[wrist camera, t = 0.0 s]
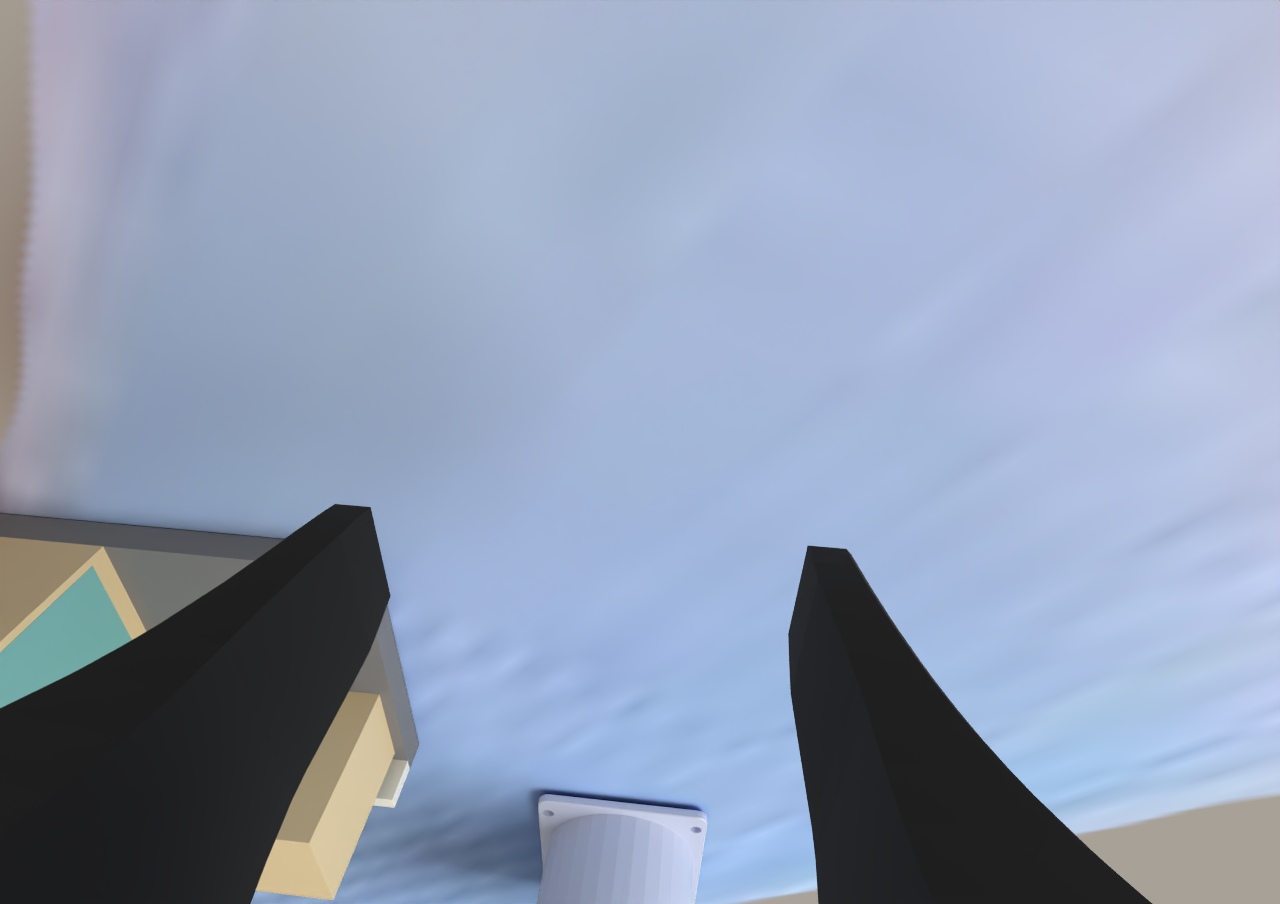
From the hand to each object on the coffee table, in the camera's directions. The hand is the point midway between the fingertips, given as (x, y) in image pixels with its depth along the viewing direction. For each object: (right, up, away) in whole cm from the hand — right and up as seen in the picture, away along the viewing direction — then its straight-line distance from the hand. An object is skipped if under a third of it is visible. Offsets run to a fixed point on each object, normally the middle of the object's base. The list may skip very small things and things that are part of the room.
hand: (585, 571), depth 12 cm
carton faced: (-13, -9, +18) cm, 24 cm away
